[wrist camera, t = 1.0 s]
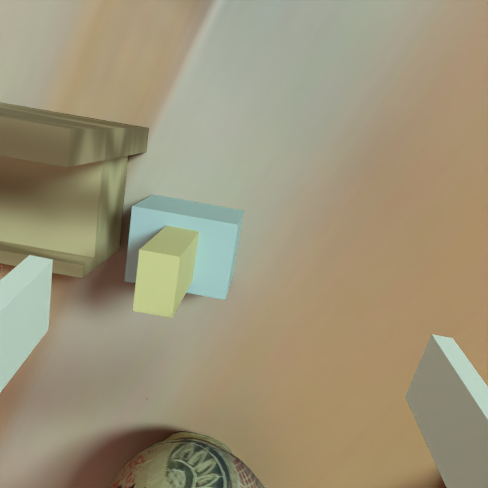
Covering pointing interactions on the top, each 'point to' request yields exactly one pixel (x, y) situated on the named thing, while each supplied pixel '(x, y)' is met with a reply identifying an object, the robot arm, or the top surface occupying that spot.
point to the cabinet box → (180, 252)
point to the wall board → (62, 186)
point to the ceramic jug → (185, 466)
